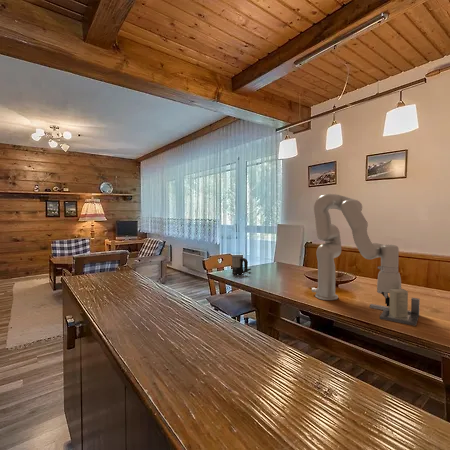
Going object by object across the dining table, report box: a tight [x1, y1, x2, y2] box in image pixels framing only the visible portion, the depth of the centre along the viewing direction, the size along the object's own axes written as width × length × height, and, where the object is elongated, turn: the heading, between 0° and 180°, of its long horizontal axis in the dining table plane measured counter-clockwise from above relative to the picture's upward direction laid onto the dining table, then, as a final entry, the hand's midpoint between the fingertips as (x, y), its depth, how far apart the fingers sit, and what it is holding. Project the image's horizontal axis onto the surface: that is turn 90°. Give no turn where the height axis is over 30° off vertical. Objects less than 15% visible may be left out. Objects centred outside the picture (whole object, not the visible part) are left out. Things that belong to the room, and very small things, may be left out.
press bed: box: [379, 310, 419, 327], centre depth 131 cm, size 14×10×1 cm
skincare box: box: [388, 288, 409, 317], centre depth 131 cm, size 6×4×12 cm
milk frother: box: [231, 254, 252, 275], centre depth 231 cm, size 14×16×15 cm
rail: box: [369, 297, 420, 318], centre depth 140 cm, size 21×3×8 cm, turn 51°
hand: (388, 305), depth 142 cm, fingers closed
